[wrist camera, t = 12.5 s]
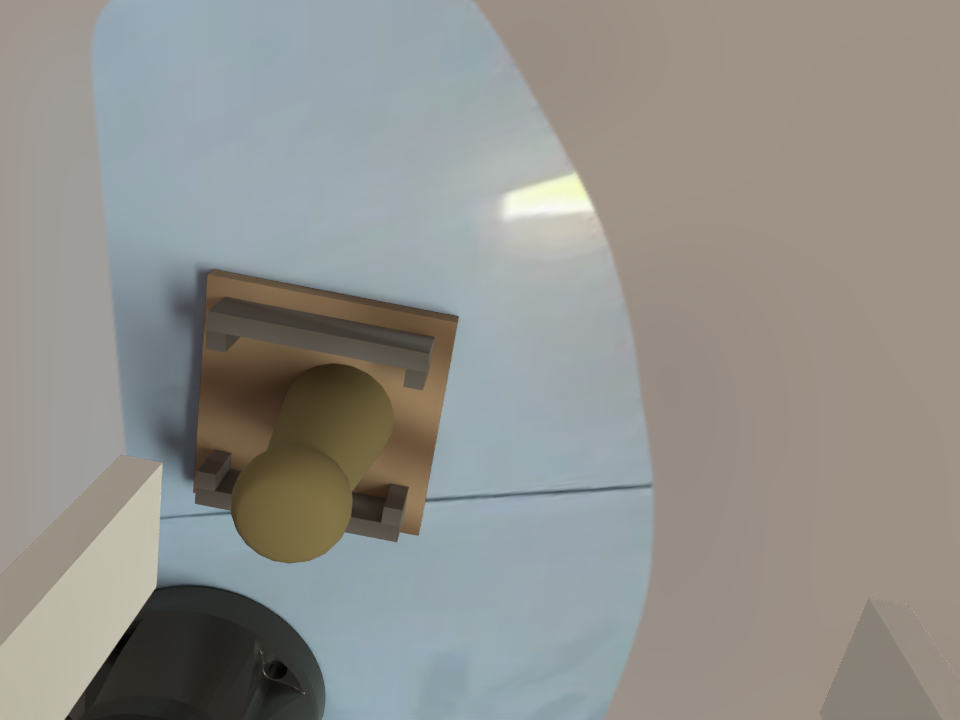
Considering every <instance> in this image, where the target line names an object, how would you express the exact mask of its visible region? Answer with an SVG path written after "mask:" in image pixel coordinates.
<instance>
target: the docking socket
mask: <svg viewBox="0 0 960 720" xmlns="http://www.w3.org/2000/svg"><path fill="white" fill-rule="evenodd" d="M458 318H459V317H458V316H453V315H448V314H443V313H438V312H432V311H427V310H422V309H417V308H412V307H406V306H401V305H396V304H391V303H386V302H381V301H375V300H370V299H365V298H360V297H355V296H349V295H344V294H339V293H334V292H329V291H324V290H318V289H313V288H308V287H303V286H298V285H292V284H287V283H282V282H277V281H272V280H267V279H261V278H256V277H251V276H246V275H241V274H235V273H230V272H225V271H220V270H215V269H214V270H213V271H212V272H210V273H209V274H207V290H206V305H205V320H204V336H203V351H202V366H201V381H200V397H199V412H198V427H197V442H196V458H195V473H194V488H193V493H196V495H195V504H199V505H205V506H210V507H215V508H220V509H226V510H231V496H232V491H233V488H234V485H235V483H236V481H237V478H238V476H239V474H240V473H241V472H242V470H243V469H244V468H245V467H246V466H247V465H248V464H249V463H250V462H251V461H252V460H253V459H254V458H255V457H256V456H258V455H259V454H261V453H263V452H265V451H266V450H267V448H268V445H269V442H270V439H271V436H272V433H273V430H274V428H275V425H276V422H277V419H278V416H279V413H280V411H281V408H282V405H283V402H284V399H285V397H286V395H287V392H288V390H289V388H290V386H291V384H292V383H293V382H294V381H295V380H296V379H297V378H298V377H299V376H300V375H301V374H302V373H303V372H305V371H307V370H309V369H311V368H313V367H315V366H318V365H325V364H332V363H336V364H343V365H349V366H353V367H355V368H357V369H360V370H362V371H364V372H366V373H368V374H369V375H370V376H372V377H373V378H374V379H375V380H376V381H377V382H378V383H379V384H381V385H382V387H383V389H384V390H385V392H386V394H387V395H388V397H389V398H390V400H391V405H392V409H393V413H394V422H393V430H392V433H391V435H390V437H389V439H388V441H387V443H386V445H385V447H384V448H383V450H382V451H381V452H380V454H379V455H378V457H377V458H376V459H375V461H374V462H373V463H372V465H371V466H370V468H369V469H368V470H367V472H366V473H365V475H364V476H363V477H362V479H361V480H360V482H359V483H358V484H357V486H356V487H355V489H354V490H353V491H352V499H353V502H352V512H351V518H350V521H349V524H348V526H347V528H346V530H345V532H346V533H352V534H357V535H362V536H367V537H373V538H378V539H383V540H388V541H394V542H397V540H398V536H399V533H400V532H402V533H407V534H412V535H419V531H420V527H421V521H422V516H423V510H424V505H425V499H426V494H427V488H428V483H429V477H430V472H431V466H432V461H433V455H434V450H435V444H436V439H437V433H438V428H439V423H440V417H441V412H442V406H443V401H444V395H445V390H446V384H447V379H448V373H449V368H450V362H451V357H452V351H453V346H454V340H455V335H456V329H457V324H458Z"/></svg>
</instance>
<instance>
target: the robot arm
mask: <svg viewBox="0 0 960 720" xmlns="http://www.w3.org/2000/svg"><path fill="white" fill-rule="evenodd" d="M161 483H162V463H161V462H156V461H151V460H146V459H140V458H135V457H130V456H125V455H120V457H118V458H117V459H116V460H115V461H114V462H113V463H112V464H111V465H110V466H109V467H108V468H107V469H106V470H105V471H104V472H103V473H102V474H101V475H100V476H99V477H98V478H97V479H96V480H95V481H94V482H93V483H92V484H91V485H90V486H89V487H88V488H87V489H86V490H85V491H84V492H83V493H82V494H81V495H80V496H79V497H78V498H77V499H76V500H75V501H74V502H73V503H72V504H71V505H70V506H69V507H68V508H67V509H66V510H65V511H64V512H63V513H62V514H61V515H60V516H59V518H57V519H56V520H55V521H54V523H52V524H51V525H50V526H49V527H48V528H47V529H46V530H45V531H44V532H43V534H41V535H40V536H39V537H38V538H37V540H35V541H34V542H33V543H32V544H31V545H30V546H29V548H27V549H26V550H25V551H24V552H23V553H22V554H21V555H20V556H19V557H18V558H17V559H16V560H15V561H14V562H13V563H12V564H11V565H10V566H9V567H8V568H7V569H6V570H5V571H4V572H3V573H2V574H1V575H0V720H322V717H323V713H324V708H325V686H324V681H323V677H322V673H321V670H320V667H319V665H318V663H317V661H316V658H315V657H314V655H313V653H312V651H311V650H310V648H309V647H308V645H307V644H306V643H305V641H304V640H303V639H302V638H301V636H300V635H299V634H298V633H297V632H296V631H295V630H294V629H293V628H292V627H291V626H290V625H289V624H288V623H286V622H285V621H284V620H283V619H282V618H280V617H279V616H278V615H276V614H275V613H273V612H272V611H270V610H269V609H267V608H265V607H263V606H262V605H260V604H258V603H256V602H254V601H252V600H249V599H247V598H245V597H242V596H239V595H236V594H233V593H230V592H226V591H222V590H218V589H212V588H205V587H173V588H166V589H161V590H157V591H154V590H155V588H156V584H157V564H158V544H159V524H160V504H161ZM820 714H821V717H822V719H823V720H960V680H959V679H958V677H957V676H956V674H955V673H954V671H953V670H952V668H951V667H950V665H949V664H948V662H947V661H946V659H945V658H944V656H943V655H942V653H941V652H940V650H939V649H938V647H937V646H936V644H935V643H934V641H933V640H932V638H931V637H930V635H929V634H928V632H927V631H926V629H925V628H924V626H923V625H922V623H921V622H920V620H919V619H918V617H917V616H916V614H915V613H914V611H913V610H912V608H911V607H910V605H905V604H899V603H894V602H889V601H884V600H879V599H873V598H869V599H868V601H867V603H866V605H865V608H864V610H863V613H862V615H861V617H860V620H859V622H858V624H857V627H856V629H855V631H854V634H853V636H852V639H851V641H850V643H849V645H848V648H847V650H846V653H845V655H844V657H843V660H842V662H841V664H840V667H839V669H838V672H837V674H836V676H835V678H834V681H833V683H832V685H831V688H830V690H829V692H828V695H827V697H826V699H825V702H824V704H823V707H822V709H821V711H820Z"/></svg>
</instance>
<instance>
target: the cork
mask: <svg viewBox="0 0 960 720" xmlns="http://www.w3.org/2000/svg"><path fill="white" fill-rule="evenodd" d="M393 422H394V413H393V409H392V405H391V400H390V398H389V397H388V395H387V394H386V392H385V390H384V389H383V387H382V385H381V384H379V383H378V382H377V381H376V380H375V379H374V378H373V377H372V376H370V375H369V374H368V373H366V372H364V371H362V370H360V369H357V368H355V367H353V366H349V365H343V364H336V363H332V364H325V365H318V366H315V367H313V368H311V369H309V370H307V371H305V372H303V373H302V374H301V375H300V376H299V377H298V378H297V379H296V380H295V381H294V382H293V383H292V384H291V386H290V388H289V390H288V392H287V395H286V397H285V399H284V402H283V405H282V408H281V411H280V413H279V416H278V419H277V422H276V425H275V428H274V430H273V433H272V436H271V439H270V442H269V445H268V448H267V450H266V451H265V452H263V453H261V454H259V455H258V456H256V457H255V458H254V459H253V460H252V461H251V462H250V463H249V464H248V465H247V466H246V467H245V468H244V469H243V470H242V472H241V473H240V474H239V476H238V478H237V481H236V483H235V485H234V488H233V491H232V496H231V515H232V518H233V521H234V524H235V527H236V529H237V531H238V533H239V535H240V536H241V537H242V539H243V540H244V542H245V543H246V544H247V545H248V546H249V547H250V548H252V549H253V550H254V551H255V552H257V553H258V554H259V555H261V556H264V557H266V558H268V559H271V560H273V561H278V562H284V563H296V562H305V561H310V560H312V559H314V558H317V557H319V556H321V555H323V554H325V553H326V552H327V551H328V550H330V549H331V548H332V547H333V546H334V545H335V544H336V543H337V542H338V541H339V540H340V539H341V538H342V536H343V534H344V532H345V530H346V528H347V526H348V524H349V521H350V518H351V512H352V502H353V499H352V491H353V490H354V489H355V487H356V486H357V484H358V483H359V482H360V480H361V479H362V477H363V476H364V475H365V473H366V472H367V470H368V469H369V468H370V466H371V465H372V463H373V462H374V461H375V459H376V458H377V457H378V455H379V454H380V452H381V451H382V450H383V448H384V447H385V445H386V443H387V441H388V439H389V437H390V435H391V433H392V430H393Z"/></svg>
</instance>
